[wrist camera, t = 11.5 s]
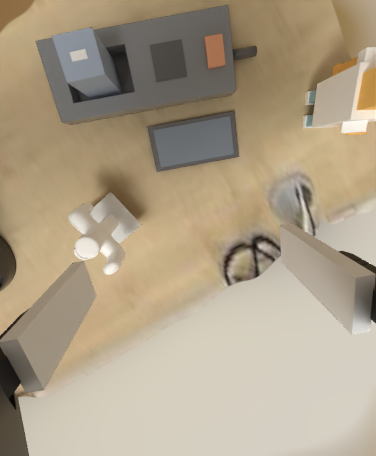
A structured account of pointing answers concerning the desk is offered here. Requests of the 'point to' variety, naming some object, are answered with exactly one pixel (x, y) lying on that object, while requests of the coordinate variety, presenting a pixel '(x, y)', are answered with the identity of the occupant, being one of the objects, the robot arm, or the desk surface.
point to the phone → (194, 141)
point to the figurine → (103, 230)
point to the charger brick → (87, 63)
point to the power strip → (154, 65)
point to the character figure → (346, 96)
